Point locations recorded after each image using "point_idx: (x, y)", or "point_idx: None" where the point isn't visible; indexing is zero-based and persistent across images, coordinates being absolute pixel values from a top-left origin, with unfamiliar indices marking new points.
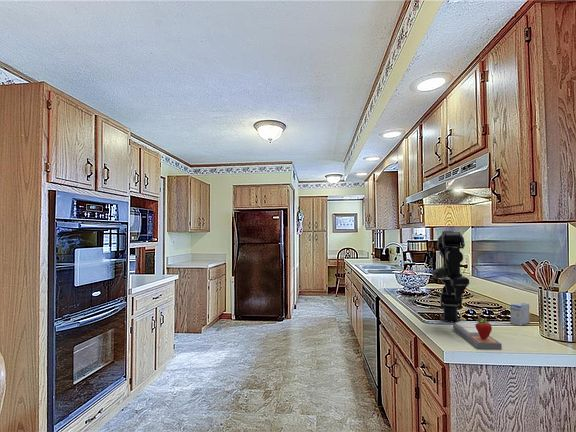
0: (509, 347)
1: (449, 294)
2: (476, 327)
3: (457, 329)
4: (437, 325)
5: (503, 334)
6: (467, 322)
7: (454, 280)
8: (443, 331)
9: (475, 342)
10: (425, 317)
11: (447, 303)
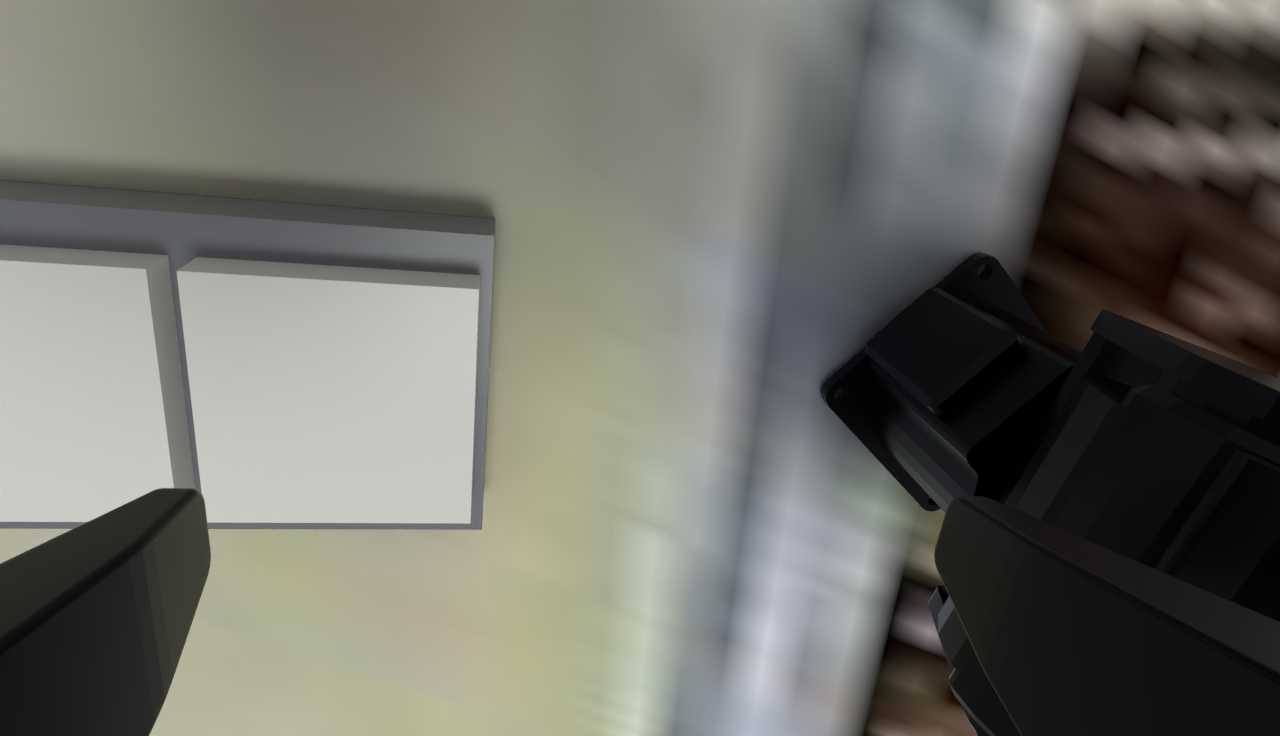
0: None
1: (962, 554)
2: None
3: (287, 215)
4: (739, 68)
5: (312, 726)
6: (471, 469)
7: None
8: (400, 10)
9: None
10: (1176, 71)
11: (1046, 438)
